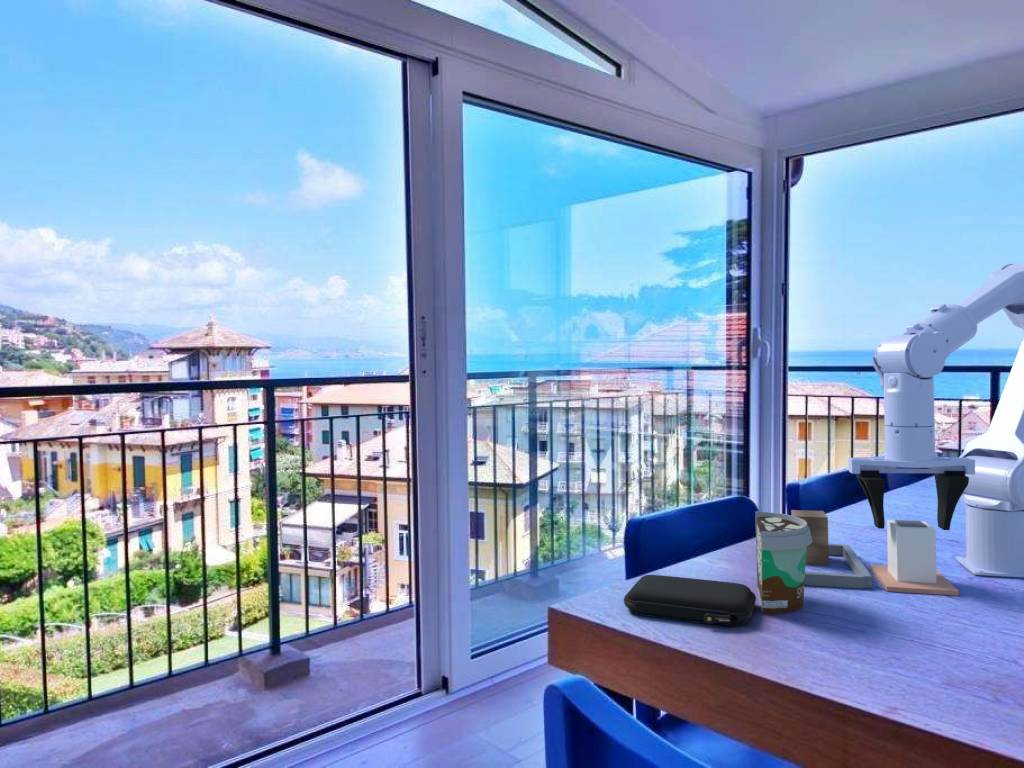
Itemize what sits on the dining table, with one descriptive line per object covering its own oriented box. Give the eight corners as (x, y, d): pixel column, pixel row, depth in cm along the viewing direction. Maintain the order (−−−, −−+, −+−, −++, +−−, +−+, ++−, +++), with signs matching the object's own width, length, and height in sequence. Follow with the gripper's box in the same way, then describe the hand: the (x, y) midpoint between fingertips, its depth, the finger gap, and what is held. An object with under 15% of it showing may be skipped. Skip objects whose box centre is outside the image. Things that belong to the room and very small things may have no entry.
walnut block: (824, 557, 103) (823, 511, 103) (828, 565, 99) (827, 517, 99) (792, 555, 104) (791, 510, 104) (795, 563, 100) (794, 516, 100)
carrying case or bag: (617, 620, 81) (748, 637, 74) (616, 594, 80) (748, 610, 74) (639, 592, 90) (757, 606, 84) (639, 569, 90) (757, 581, 84)
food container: (821, 622, 77) (819, 534, 77) (763, 618, 79) (761, 532, 79) (806, 588, 89) (805, 512, 89) (756, 585, 91) (755, 510, 91)
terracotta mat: (934, 572, 94) (934, 567, 94) (958, 595, 85) (958, 590, 85) (870, 568, 97) (870, 564, 97) (886, 591, 87) (886, 586, 87)
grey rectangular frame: (848, 554, 104) (848, 544, 104) (872, 589, 88) (872, 577, 88) (764, 550, 108) (764, 540, 108) (773, 583, 91) (773, 572, 91)
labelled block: (924, 572, 92) (923, 519, 92) (936, 583, 88) (935, 527, 88) (887, 571, 93) (887, 518, 93) (897, 581, 89) (896, 526, 89)
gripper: (959, 422, 92) (961, 522, 93) (842, 423, 96) (844, 519, 96) (981, 426, 85) (983, 534, 86) (854, 428, 89) (856, 531, 89)
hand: (911, 527), depth 91 cm, fingers open, 7 cm apart
